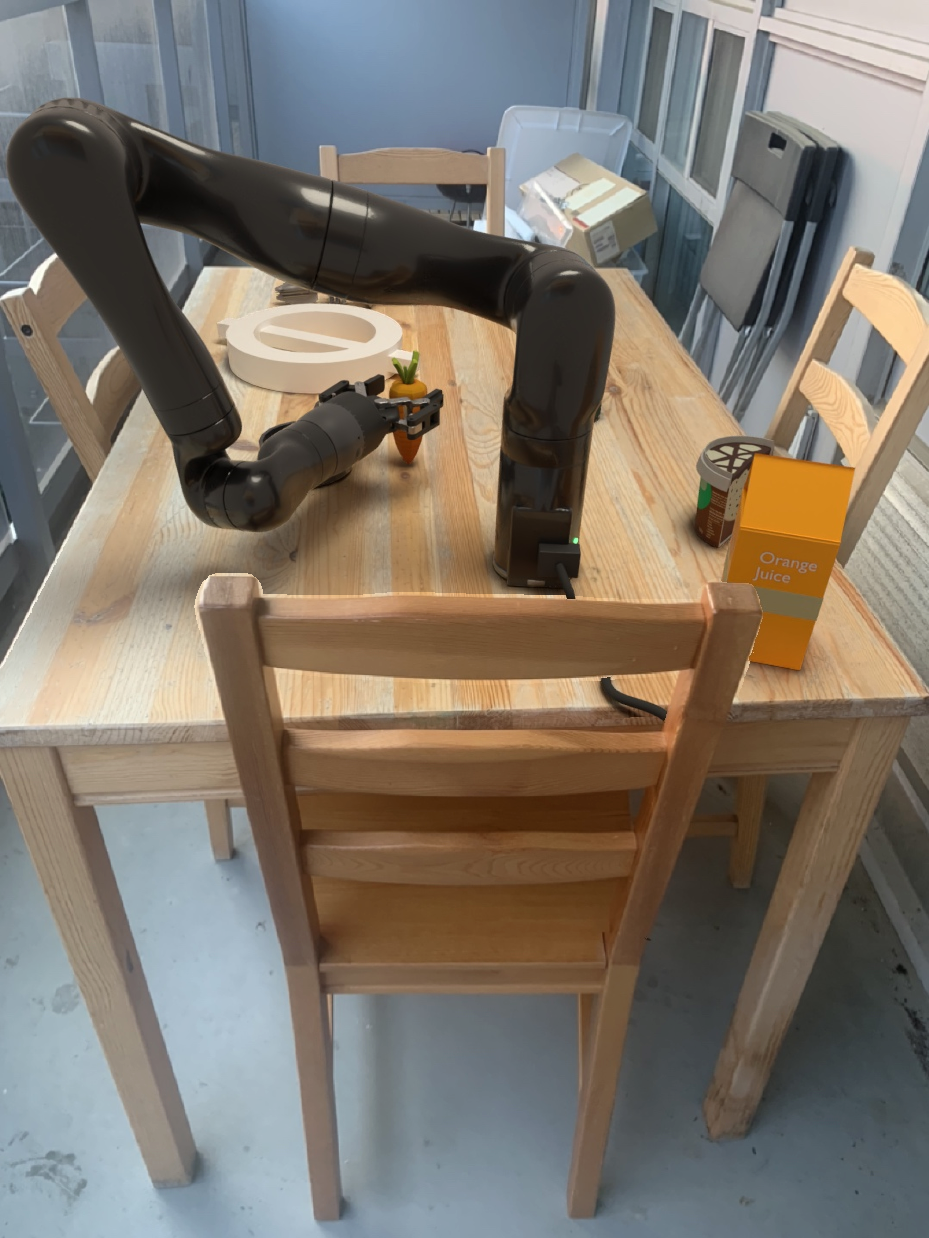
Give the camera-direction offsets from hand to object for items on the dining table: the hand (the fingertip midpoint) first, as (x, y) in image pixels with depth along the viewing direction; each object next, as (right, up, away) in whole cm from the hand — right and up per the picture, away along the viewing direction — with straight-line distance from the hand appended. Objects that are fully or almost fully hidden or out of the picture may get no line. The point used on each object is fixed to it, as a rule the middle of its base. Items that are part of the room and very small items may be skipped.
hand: (410, 389), depth 116 cm
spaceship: (-11, +30, +58) cm, 66 cm away
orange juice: (+36, -31, -22) cm, 53 cm away
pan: (-14, -9, +4) cm, 17 cm away
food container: (+37, -18, -4) cm, 41 cm away
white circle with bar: (-17, +13, +35) cm, 41 cm away
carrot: (-1, -9, +6) cm, 11 cm away
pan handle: (-13, -2, +10) cm, 17 cm away
